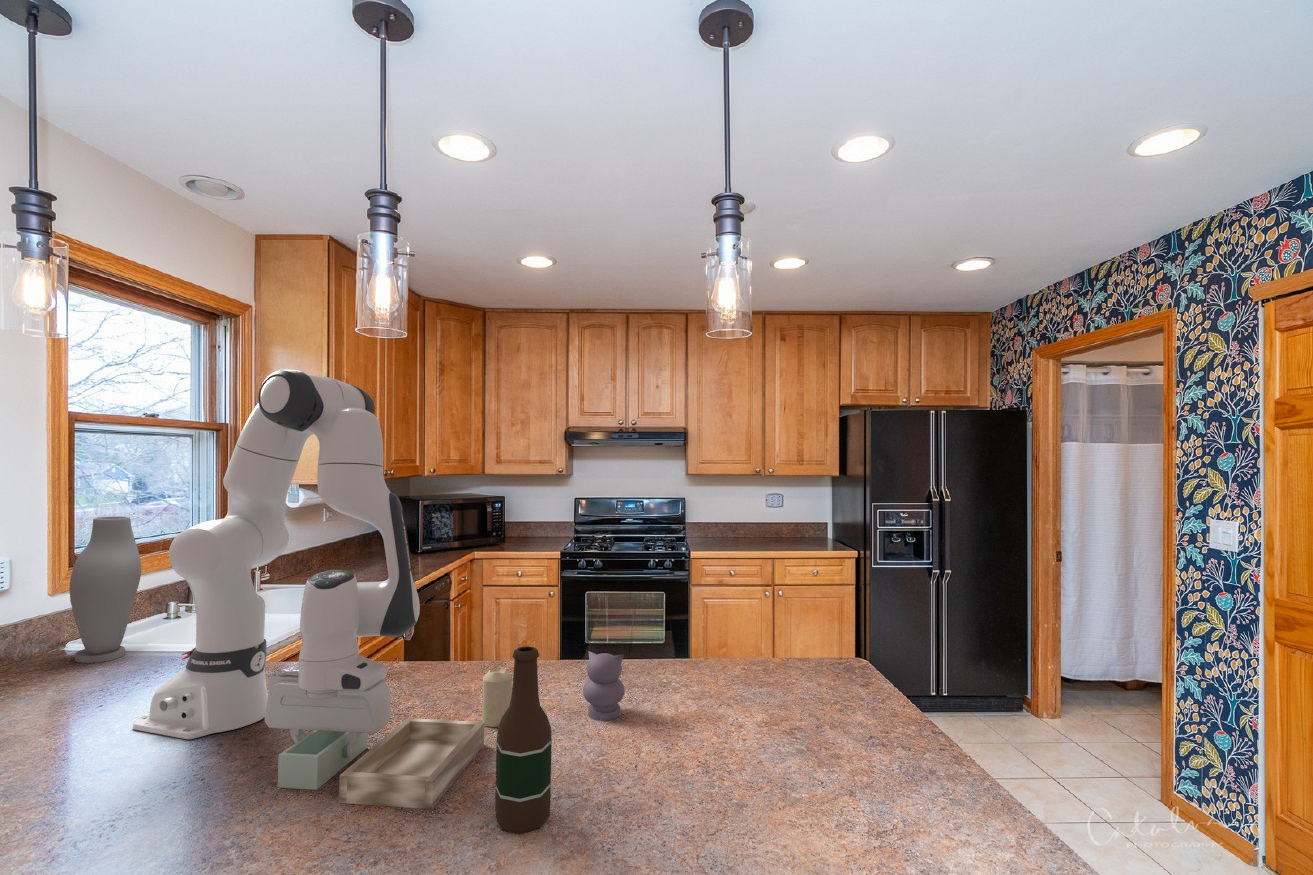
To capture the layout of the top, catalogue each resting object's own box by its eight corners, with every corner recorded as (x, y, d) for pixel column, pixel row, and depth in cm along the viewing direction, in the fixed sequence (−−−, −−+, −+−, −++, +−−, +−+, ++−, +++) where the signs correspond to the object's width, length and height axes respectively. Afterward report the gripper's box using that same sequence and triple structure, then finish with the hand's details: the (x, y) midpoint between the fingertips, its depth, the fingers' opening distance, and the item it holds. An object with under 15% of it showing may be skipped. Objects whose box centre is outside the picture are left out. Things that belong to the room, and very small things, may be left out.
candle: (503, 728, 117) (504, 675, 118) (476, 725, 118) (477, 672, 119) (515, 716, 123) (516, 665, 123) (490, 714, 124) (491, 663, 124)
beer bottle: (499, 804, 92) (502, 641, 93) (552, 802, 92) (555, 640, 93) (489, 836, 84) (493, 657, 85) (547, 834, 85) (550, 657, 85)
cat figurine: (576, 719, 122) (577, 657, 122) (590, 703, 129) (591, 646, 130) (617, 724, 120) (617, 661, 120) (629, 708, 127) (630, 649, 128)
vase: (51, 662, 150) (60, 518, 152) (106, 646, 163) (115, 514, 164) (96, 667, 148) (105, 521, 149) (149, 651, 161) (157, 516, 162)
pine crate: (338, 802, 92) (339, 775, 92) (406, 740, 112) (407, 717, 112) (432, 809, 90) (432, 781, 90) (483, 744, 111) (484, 721, 111)
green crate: (277, 787, 96) (278, 754, 96) (332, 745, 110) (333, 716, 110) (316, 789, 95) (317, 756, 95) (367, 747, 109) (368, 718, 109)
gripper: (256, 674, 101) (253, 760, 100) (376, 680, 99) (373, 768, 99) (283, 662, 107) (281, 743, 107) (396, 667, 105) (394, 749, 105)
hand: (326, 755), depth 103 cm, fingers closed on green crate, 6 cm apart
